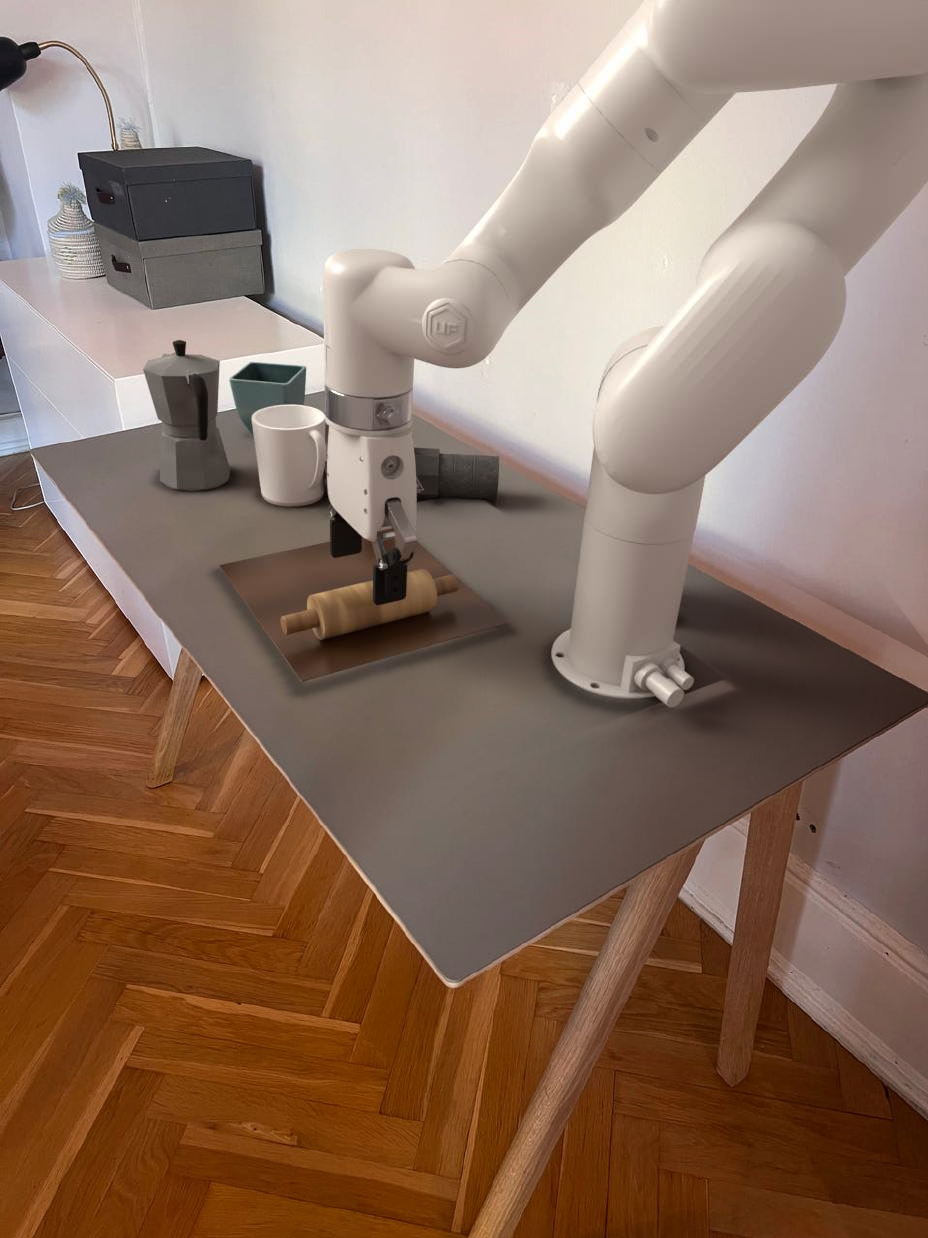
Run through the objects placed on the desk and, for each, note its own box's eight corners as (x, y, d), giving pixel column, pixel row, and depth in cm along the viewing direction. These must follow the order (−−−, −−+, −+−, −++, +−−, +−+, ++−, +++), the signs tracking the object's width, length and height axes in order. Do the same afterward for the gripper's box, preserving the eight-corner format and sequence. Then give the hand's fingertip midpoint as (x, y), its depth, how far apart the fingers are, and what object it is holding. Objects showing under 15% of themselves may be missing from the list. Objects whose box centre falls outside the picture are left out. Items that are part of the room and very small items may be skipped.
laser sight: (496, 516, 114) (501, 440, 109) (317, 508, 114) (313, 431, 109) (496, 484, 122) (500, 413, 117) (329, 477, 122) (326, 404, 117)
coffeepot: (147, 465, 123) (127, 330, 113) (216, 454, 127) (202, 323, 118) (177, 510, 112) (157, 364, 102) (251, 497, 116) (239, 356, 106)
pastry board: (507, 631, 92) (508, 622, 91) (301, 690, 82) (301, 681, 81) (399, 533, 109) (400, 526, 109) (219, 572, 99) (218, 564, 99)
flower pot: (233, 439, 132) (227, 378, 128) (255, 418, 140) (250, 360, 135) (291, 445, 131) (287, 383, 127) (310, 424, 139) (307, 365, 134)
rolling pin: (464, 610, 93) (465, 572, 90) (293, 656, 84) (290, 615, 82) (443, 592, 96) (444, 555, 94) (277, 635, 88) (273, 595, 86)
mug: (243, 492, 117) (236, 415, 112) (299, 474, 123) (294, 399, 117) (297, 520, 111) (292, 440, 105) (353, 499, 117) (351, 422, 111)
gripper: (456, 434, 74) (444, 612, 83) (366, 370, 86) (364, 532, 95) (372, 446, 71) (369, 630, 80) (290, 378, 83) (296, 545, 92)
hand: (366, 576), depth 88 cm, fingers open, 9 cm apart
